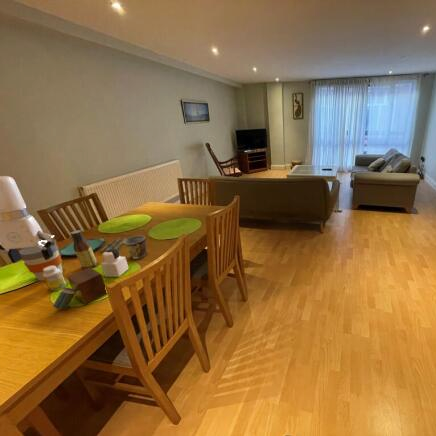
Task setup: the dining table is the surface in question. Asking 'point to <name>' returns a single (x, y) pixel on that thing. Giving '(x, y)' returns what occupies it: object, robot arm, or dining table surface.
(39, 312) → the dining table surface
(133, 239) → the ceramic cup
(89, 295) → the box
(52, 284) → the supplement bottle
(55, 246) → the reusable coffee cup
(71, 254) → the cutlery set
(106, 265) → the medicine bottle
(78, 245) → the sauce bottle
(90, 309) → the dining table surface
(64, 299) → the cylinder
